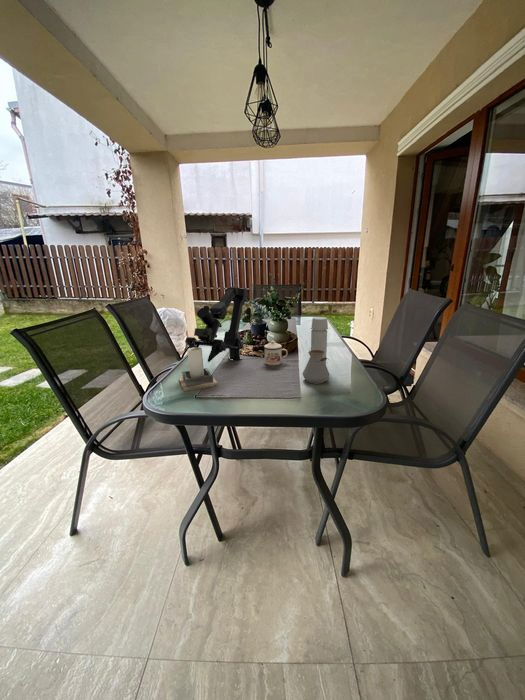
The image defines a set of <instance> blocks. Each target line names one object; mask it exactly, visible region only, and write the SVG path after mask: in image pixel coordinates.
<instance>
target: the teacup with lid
mask: <svg viewBox="0 0 525 700" xmlns="http://www.w3.org/2000/svg"><path fill="white" fill-rule="evenodd" d="M263 349H264V364H266V365H267V364H268V366H279V365H280V364H282V362H283V361H282V359H285V358H286V357H288V354H289V353H288V350H287V349H285V348H283V346H282V344H280V343H277V342H276V341H275V340H271V341H270V342H269V343H267V344H265V345H264V346H263ZM282 351H285V355H284V356H282Z"/></svg>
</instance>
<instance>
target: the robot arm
mask: <svg viewBox="0 0 525 700" xmlns="http://www.w3.org/2000/svg"><path fill="white" fill-rule="evenodd" d="M248 296H249V291H248V290H247V288H245V287H244V288H242V287H241V288H240V287H238V286H228V287H227V289H226V291H225V292H224V294H223V295H222V297H221V298H220V299H219V301H218V302H217V303H215V304H213V305H212V306H211V307H210V306H209V305H203V307H201V308H199V310H197V312H196V315H197V318H198V319H199V320H200V321H201V322H202V324H203V325H205V328H196V327H195V329H194V333H193V337H192V336H187V337H186V338H185V340H184V342H185V344H186V345H187V346H188V347H189V349H190V348H196V347H198V348H200V346H203V347H204V346H206V347H207V346H208V347H211V350H210V353H209V355H208V357H207V362H208V363H210V362H211V361H212V360H213V359H215V357H216V356H218V355H219V354H220V353H223V352H226V350H227V349H228V351H229V352H228V355H229V356H228V357H230V359H233V360H236V361H240V360H239V359H240V357H241V350H243V348H244V342H243V341H242V340H241V334H240V324H241V318H242V312H243V306H244V304H245V303H247V300H248ZM232 302H233V306H232V312H231V318H230V324H229V329H228V331H225V332H224V337H223V339H219V338H218V335H217V333H218V331H219V328H223V326H222V323H221V321H220V320H225V318H226V317H227V314H228V308H229V306H230V305H231V303H232ZM194 336H195V337H194ZM196 337H197V338H196ZM217 338H218V339H217Z"/></svg>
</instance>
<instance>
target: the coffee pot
mask: <svg viewBox="0 0 525 700" xmlns="http://www.w3.org/2000/svg"><path fill="white" fill-rule="evenodd" d="M307 353H308V354H309V358H308V360H307V362H306V365H305V367H304V369H303V372H302V377H303V379H304V380H305V381H307V382H308V383H310V384H315V385H317V384H324V382H326V381H327V380H329V378H330V372H329V369H328V367H327V363H326V364H325V362H324V361H325V360H326V361H327V360H328V357H327V356H326V357H324V358H323V354H324V351H321V350H311V349H310V350H309V351H308V352H307Z"/></svg>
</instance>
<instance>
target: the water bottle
mask: <svg viewBox="0 0 525 700" xmlns="http://www.w3.org/2000/svg"><path fill="white" fill-rule="evenodd" d="M328 323H329V322H328V317H325V316H324V317H323V316H317V317H316V316H315V317H312V320H311V327H310V330H311V332H310V335H311V336H310V351H311V350H321V351H324V354H323V358H324V357H326V358H327V347H328V330H329V327H328V326H329V324H328ZM324 362H325V364H326V365H327V360H325V361H324Z"/></svg>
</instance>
